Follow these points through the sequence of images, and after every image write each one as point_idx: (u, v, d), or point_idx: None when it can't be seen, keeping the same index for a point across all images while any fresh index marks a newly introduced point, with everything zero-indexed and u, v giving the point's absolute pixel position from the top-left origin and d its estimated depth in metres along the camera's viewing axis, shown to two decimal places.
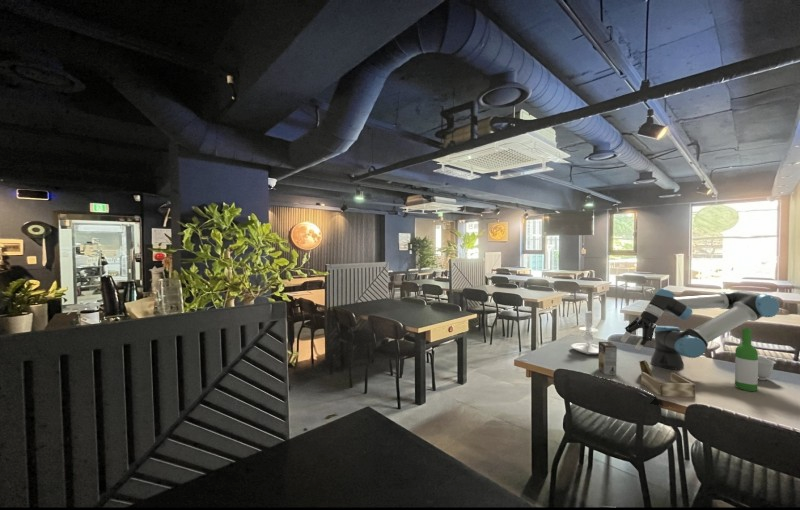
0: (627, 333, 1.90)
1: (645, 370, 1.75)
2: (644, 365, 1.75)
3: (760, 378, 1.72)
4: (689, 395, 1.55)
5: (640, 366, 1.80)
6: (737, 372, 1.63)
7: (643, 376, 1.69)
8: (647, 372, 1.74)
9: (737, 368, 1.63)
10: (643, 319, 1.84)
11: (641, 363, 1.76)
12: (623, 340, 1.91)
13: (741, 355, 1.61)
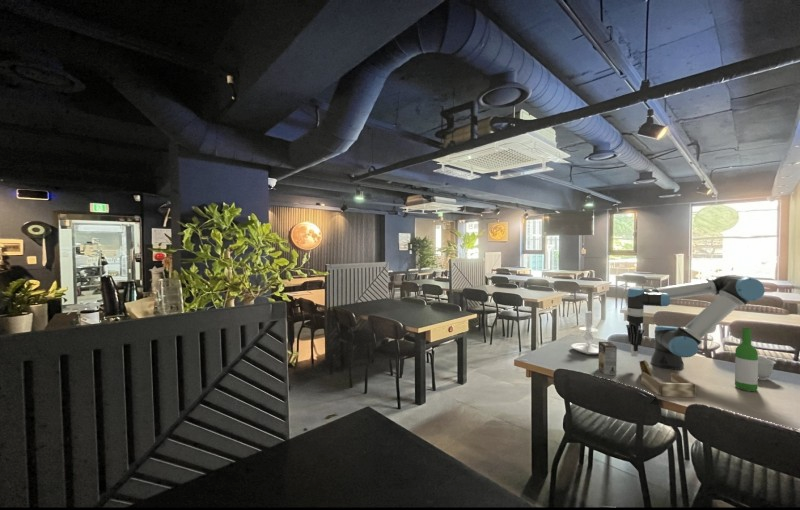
0: None
1: (645, 370, 1.75)
2: (644, 365, 1.75)
3: (760, 378, 1.72)
4: (689, 395, 1.55)
5: (640, 366, 1.80)
6: (737, 372, 1.63)
7: (643, 376, 1.69)
8: (647, 372, 1.74)
9: (737, 368, 1.63)
10: None
11: (641, 363, 1.76)
12: None
13: (741, 355, 1.61)
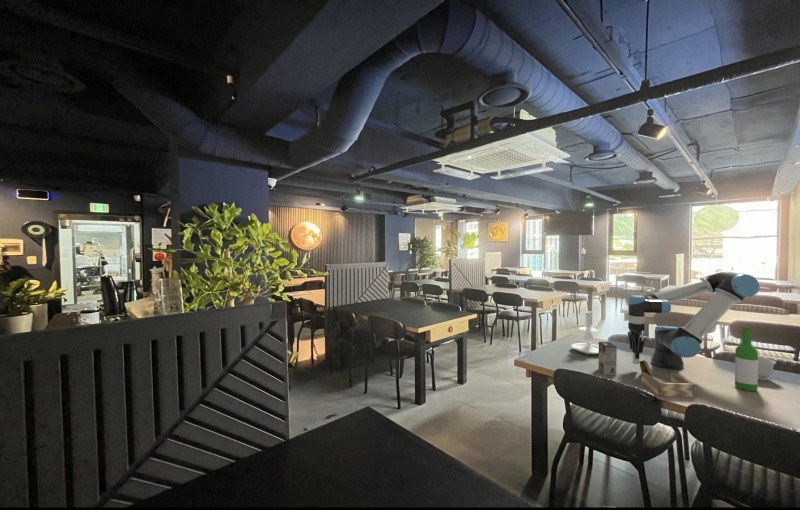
0: None
1: (645, 370, 1.75)
2: (644, 365, 1.75)
3: (760, 378, 1.72)
4: (689, 395, 1.55)
5: (640, 366, 1.80)
6: (737, 372, 1.63)
7: (643, 376, 1.69)
8: (647, 372, 1.74)
9: (737, 368, 1.63)
10: None
11: (641, 363, 1.76)
12: None
13: (741, 355, 1.61)
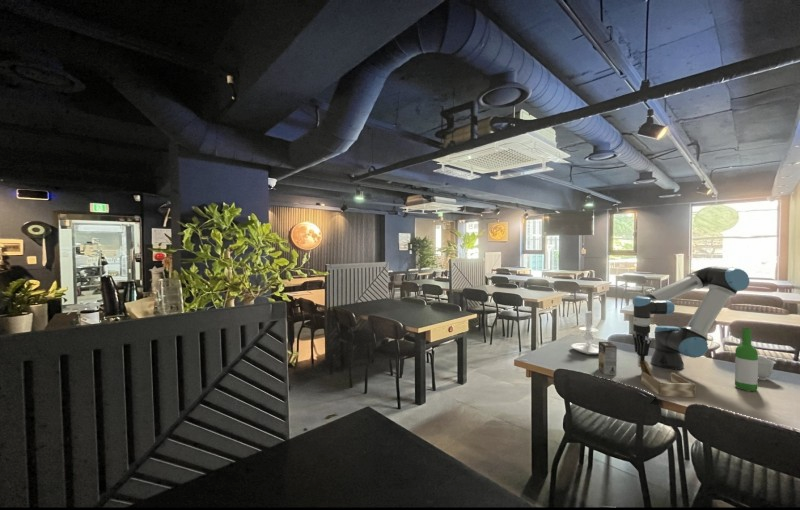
0: None
1: (645, 370, 1.74)
2: (644, 365, 1.75)
3: (760, 378, 1.72)
4: (689, 395, 1.55)
5: (640, 366, 1.80)
6: (737, 372, 1.63)
7: (643, 376, 1.69)
8: (647, 372, 1.74)
9: (737, 368, 1.63)
10: None
11: (641, 363, 1.76)
12: None
13: (741, 355, 1.61)
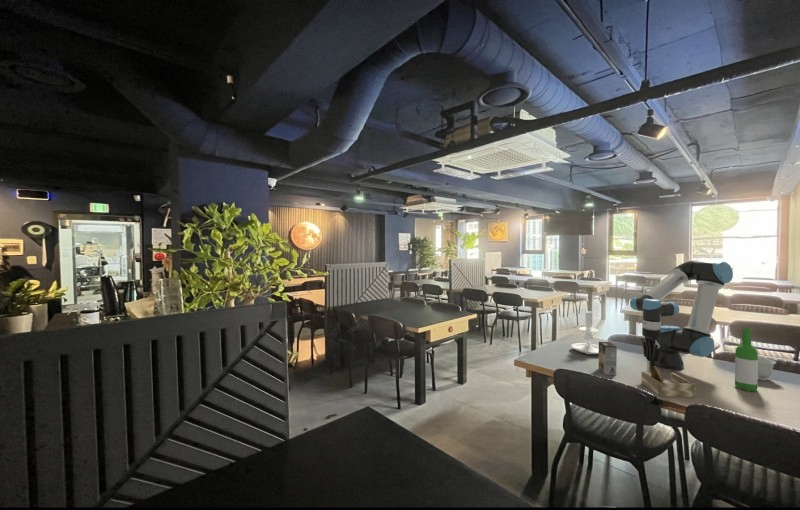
0: None
1: (656, 376, 1.66)
2: (655, 371, 1.67)
3: (760, 378, 1.72)
4: (689, 395, 1.55)
5: (650, 372, 1.72)
6: (737, 372, 1.63)
7: (643, 376, 1.69)
8: (658, 378, 1.65)
9: (737, 368, 1.63)
10: None
11: (651, 369, 1.68)
12: None
13: (741, 355, 1.61)
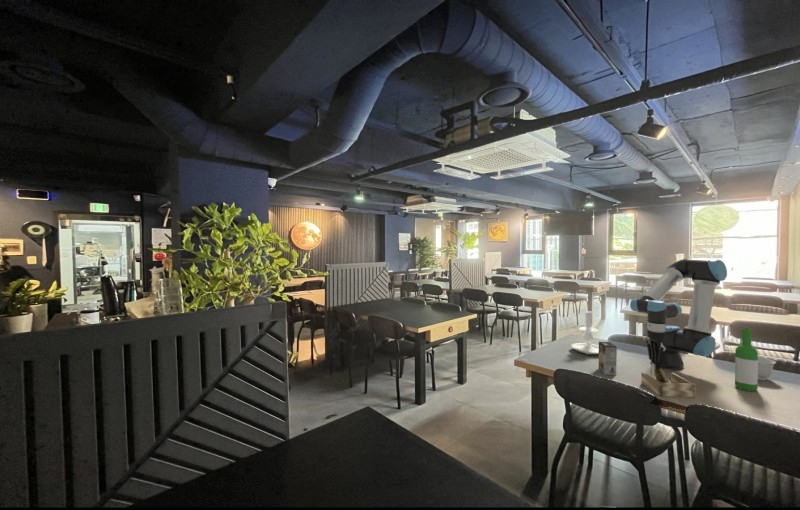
0: None
1: (661, 379, 1.62)
2: (660, 374, 1.63)
3: (760, 378, 1.72)
4: (689, 395, 1.55)
5: None
6: (737, 372, 1.63)
7: (643, 376, 1.69)
8: (663, 382, 1.62)
9: (737, 368, 1.63)
10: None
11: (657, 372, 1.64)
12: None
13: (741, 355, 1.61)
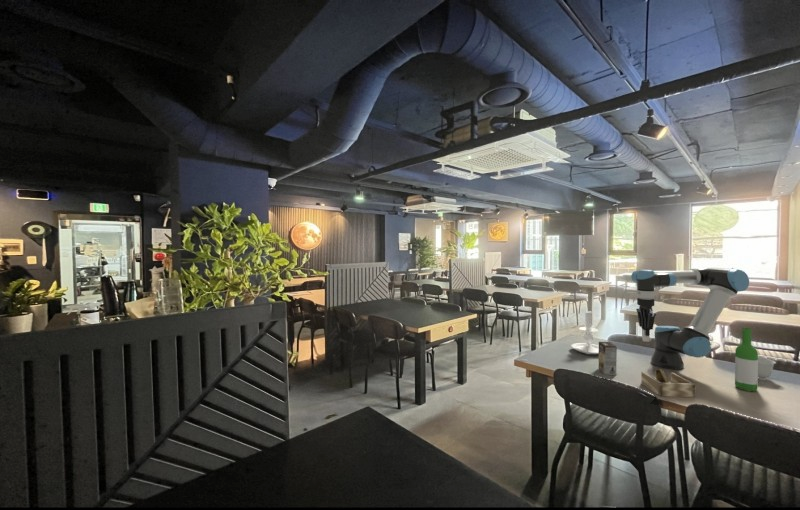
0: None
1: (661, 379, 1.62)
2: (660, 374, 1.63)
3: (760, 378, 1.72)
4: (689, 395, 1.55)
5: None
6: (737, 372, 1.63)
7: (643, 376, 1.69)
8: (663, 382, 1.62)
9: (737, 368, 1.63)
10: None
11: (657, 372, 1.64)
12: None
13: (741, 355, 1.61)
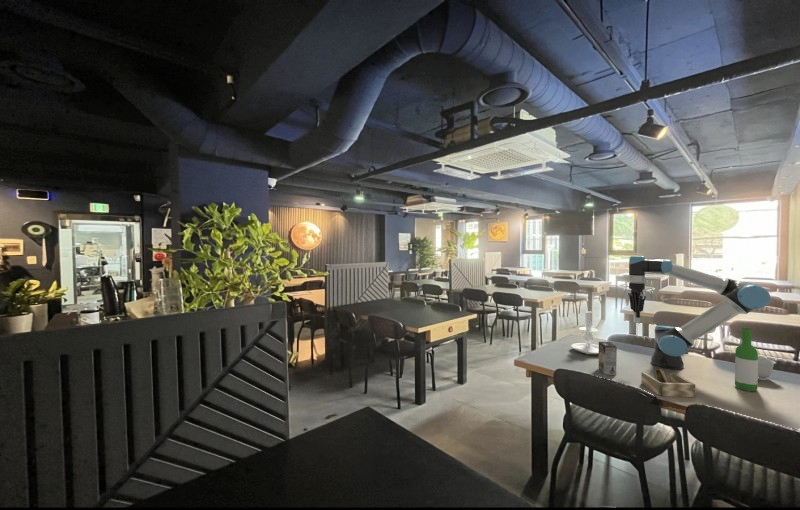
0: None
1: (661, 379, 1.62)
2: (660, 374, 1.63)
3: (760, 378, 1.72)
4: (689, 395, 1.55)
5: None
6: (737, 372, 1.63)
7: (643, 376, 1.69)
8: (663, 382, 1.62)
9: (737, 368, 1.63)
10: None
11: (657, 372, 1.64)
12: None
13: (741, 355, 1.61)
